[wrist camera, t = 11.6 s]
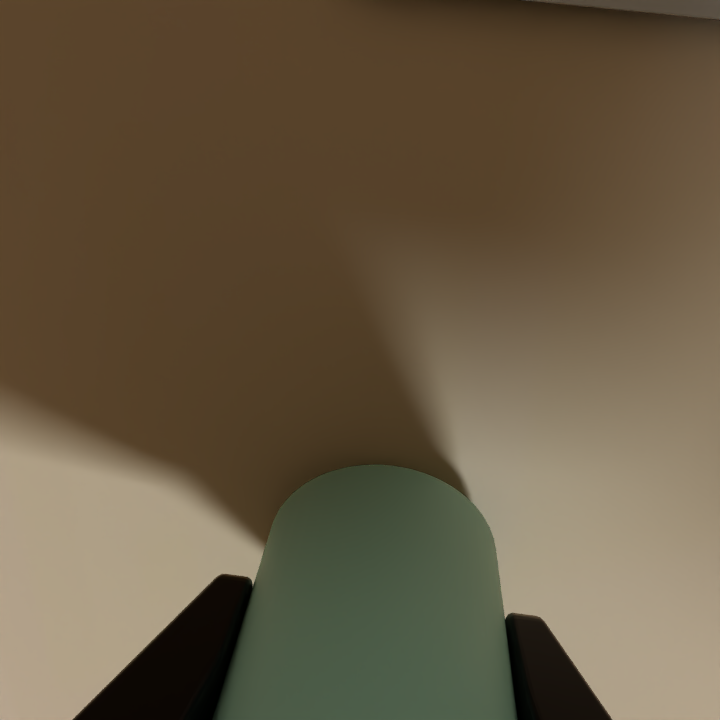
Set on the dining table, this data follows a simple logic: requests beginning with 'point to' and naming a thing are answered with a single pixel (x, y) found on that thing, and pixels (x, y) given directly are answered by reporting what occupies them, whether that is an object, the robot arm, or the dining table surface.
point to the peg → (373, 607)
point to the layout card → (652, 6)
